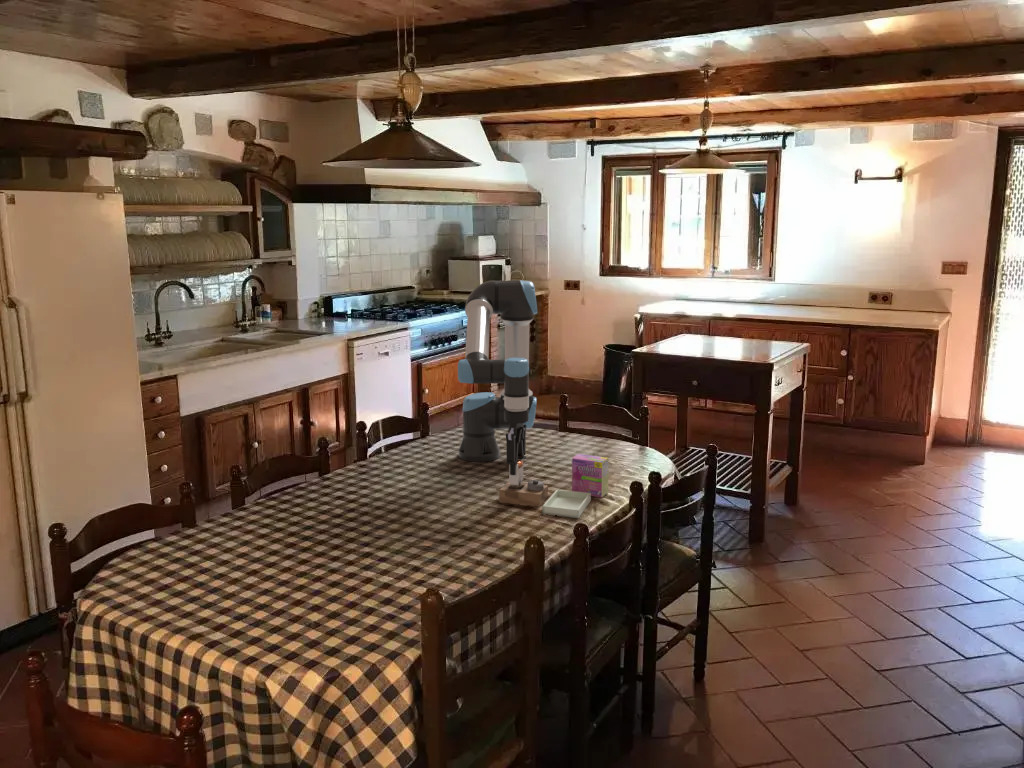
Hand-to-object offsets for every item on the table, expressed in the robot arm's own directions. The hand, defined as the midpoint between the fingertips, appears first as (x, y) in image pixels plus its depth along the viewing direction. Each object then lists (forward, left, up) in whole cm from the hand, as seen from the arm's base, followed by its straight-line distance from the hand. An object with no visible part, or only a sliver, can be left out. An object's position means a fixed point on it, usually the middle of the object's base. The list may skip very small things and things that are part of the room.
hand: (516, 481), depth 255 cm
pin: (0, 0, -6) cm, 6 cm away
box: (-13, +20, -6) cm, 25 cm away
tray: (+2, +17, -6) cm, 18 cm away
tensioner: (0, +2, -6) cm, 6 cm away
